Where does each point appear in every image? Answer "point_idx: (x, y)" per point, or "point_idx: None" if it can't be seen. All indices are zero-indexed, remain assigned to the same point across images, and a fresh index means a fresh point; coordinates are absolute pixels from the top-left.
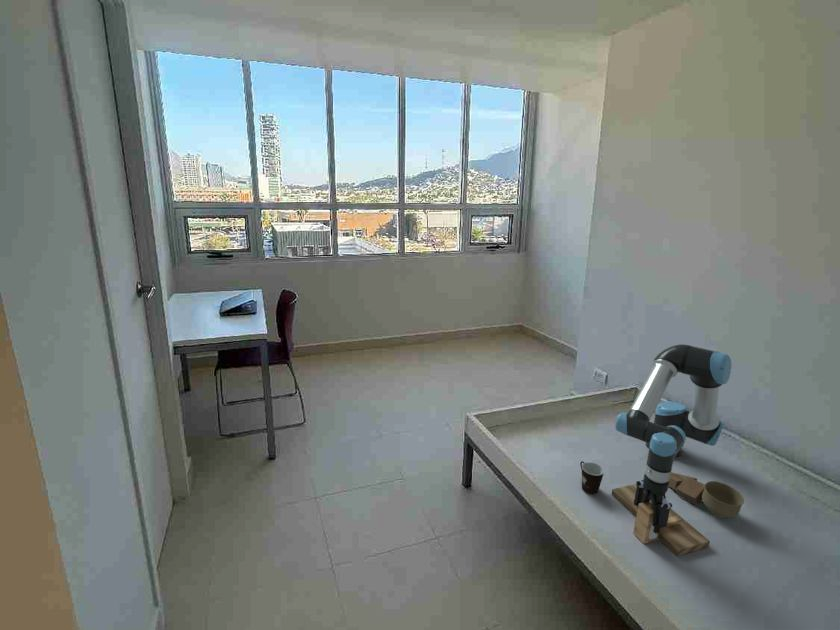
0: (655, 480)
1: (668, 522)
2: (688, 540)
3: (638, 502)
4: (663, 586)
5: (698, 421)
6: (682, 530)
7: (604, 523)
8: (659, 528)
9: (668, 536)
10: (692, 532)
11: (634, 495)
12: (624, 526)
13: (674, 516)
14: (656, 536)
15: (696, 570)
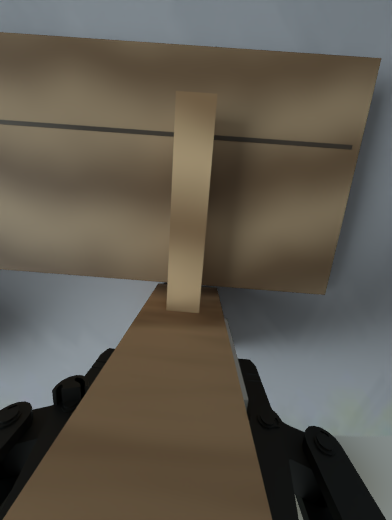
0: None
1: (202, 215)
2: (312, 189)
3: (4, 461)
4: (356, 419)
5: None
6: (250, 151)
7: None
8: (264, 396)
9: (247, 264)
10: (287, 104)
11: None
12: (116, 344)
13: (175, 119)
14: (228, 324)
15: (384, 272)
